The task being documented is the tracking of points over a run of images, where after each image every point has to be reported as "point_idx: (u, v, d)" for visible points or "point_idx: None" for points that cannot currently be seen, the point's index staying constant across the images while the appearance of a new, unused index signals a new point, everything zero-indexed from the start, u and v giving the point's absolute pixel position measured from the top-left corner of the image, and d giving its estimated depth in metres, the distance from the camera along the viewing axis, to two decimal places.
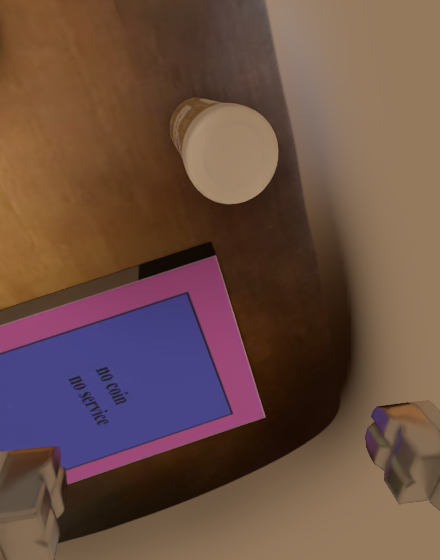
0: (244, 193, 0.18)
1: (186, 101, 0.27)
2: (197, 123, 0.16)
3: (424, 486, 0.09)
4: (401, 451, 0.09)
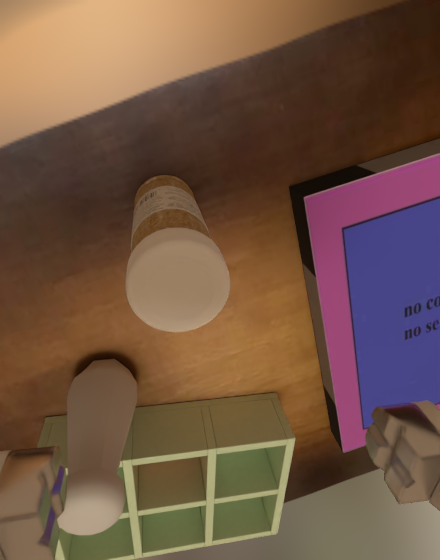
0: (218, 276, 0.16)
1: None
2: (147, 323, 0.16)
3: (424, 486, 0.09)
4: (401, 451, 0.09)
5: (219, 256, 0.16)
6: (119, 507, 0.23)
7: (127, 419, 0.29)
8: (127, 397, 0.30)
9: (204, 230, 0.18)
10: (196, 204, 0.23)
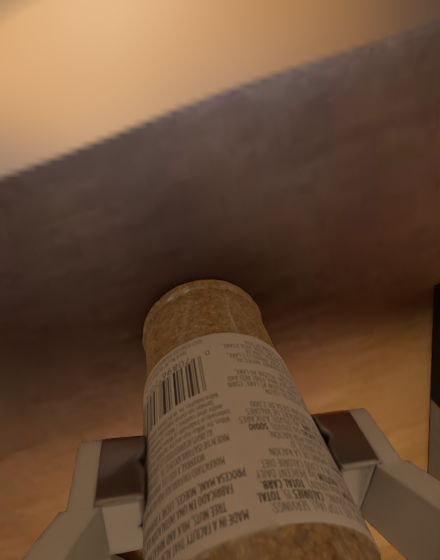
0: None
1: None
2: None
3: None
4: None
5: None
6: None
7: None
8: None
9: None
10: (291, 377, 0.10)
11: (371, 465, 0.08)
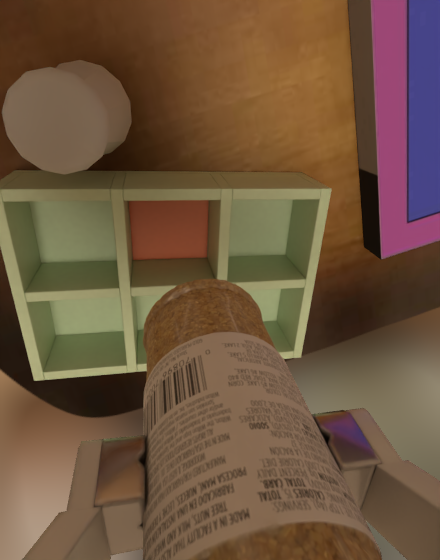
0: None
1: None
2: None
3: None
4: None
5: None
6: (101, 118, 0.16)
7: (116, 103, 0.21)
8: (116, 90, 0.22)
9: None
10: None
11: (371, 465, 0.08)
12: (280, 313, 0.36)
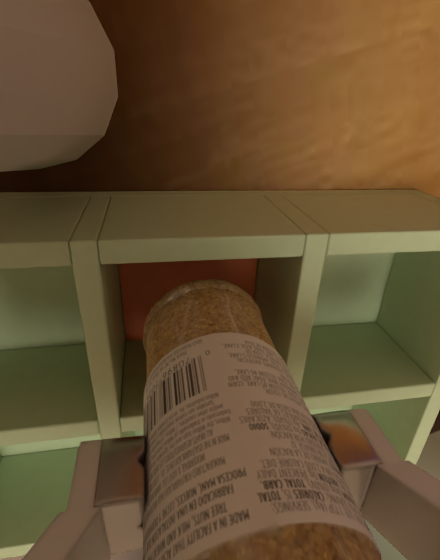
0: None
1: None
2: None
3: None
4: None
5: None
6: None
7: (72, 35, 0.08)
8: (78, 11, 0.09)
9: None
10: (291, 377, 0.10)
11: (371, 465, 0.08)
12: None
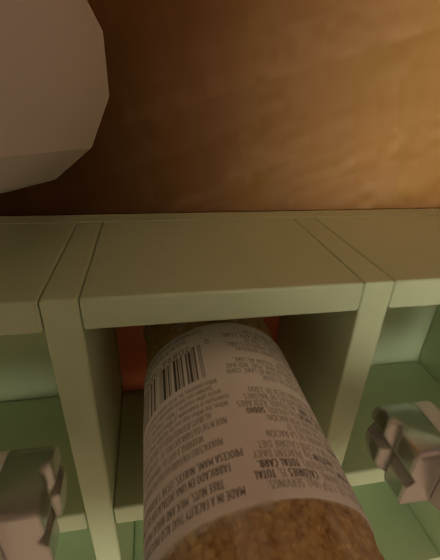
0: None
1: None
2: None
3: (424, 486, 0.09)
4: (401, 451, 0.09)
5: None
6: None
7: None
8: None
9: None
10: (289, 366, 0.10)
11: None
12: None
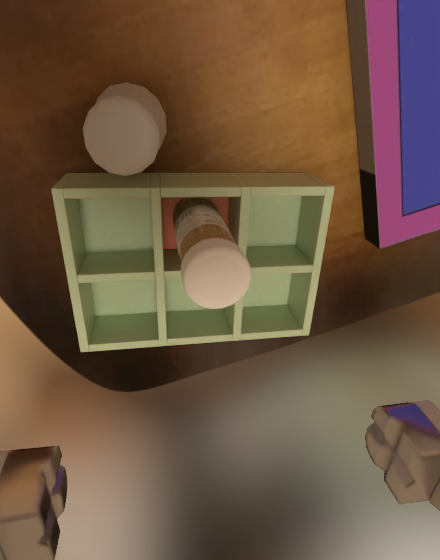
0: (243, 270, 0.24)
1: None
2: (195, 302, 0.24)
3: (424, 486, 0.09)
4: (401, 451, 0.09)
5: (244, 257, 0.23)
6: (156, 133, 0.21)
7: (158, 118, 0.26)
8: (156, 106, 0.27)
9: (232, 239, 0.26)
10: None
11: None
12: (290, 297, 0.41)
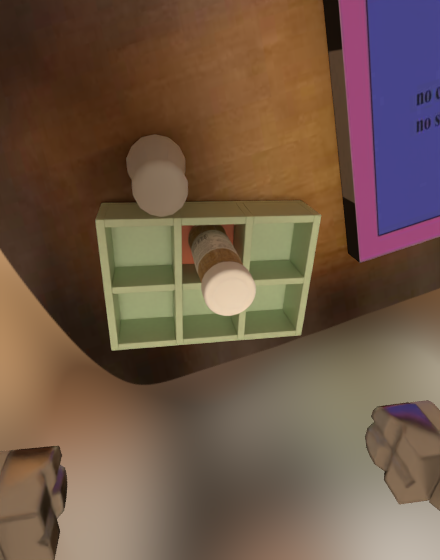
0: (250, 287, 0.31)
1: (191, 248, 0.42)
2: None
3: (424, 486, 0.09)
4: (401, 451, 0.09)
5: (251, 276, 0.31)
6: (186, 186, 0.28)
7: (181, 165, 0.33)
8: (179, 154, 0.35)
9: (240, 260, 0.33)
10: (230, 241, 0.38)
11: None
12: (285, 303, 0.48)
